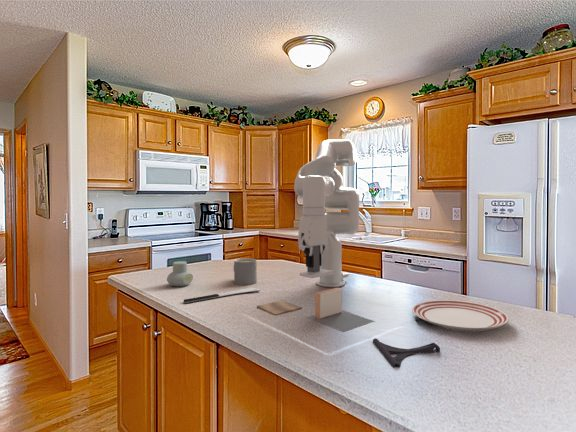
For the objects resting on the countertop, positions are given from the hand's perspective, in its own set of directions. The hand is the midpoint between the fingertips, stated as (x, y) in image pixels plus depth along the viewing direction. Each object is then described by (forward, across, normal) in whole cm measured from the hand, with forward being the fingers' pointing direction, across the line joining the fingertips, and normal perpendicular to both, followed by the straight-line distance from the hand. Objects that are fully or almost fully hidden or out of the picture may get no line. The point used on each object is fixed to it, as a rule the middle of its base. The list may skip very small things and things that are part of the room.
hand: (313, 265), depth 126 cm
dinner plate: (+16, -27, +37) cm, 48 cm away
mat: (+15, +2, +13) cm, 20 cm away
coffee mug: (+15, -4, -50) cm, 52 cm away
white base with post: (+3, 0, +2) cm, 3 cm away
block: (+15, +1, +8) cm, 17 cm away
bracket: (+16, +5, +40) cm, 44 cm away
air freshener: (+16, +21, -62) cm, 67 cm away
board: (+15, +9, -8) cm, 19 cm away
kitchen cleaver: (+16, +15, -36) cm, 43 cm away
